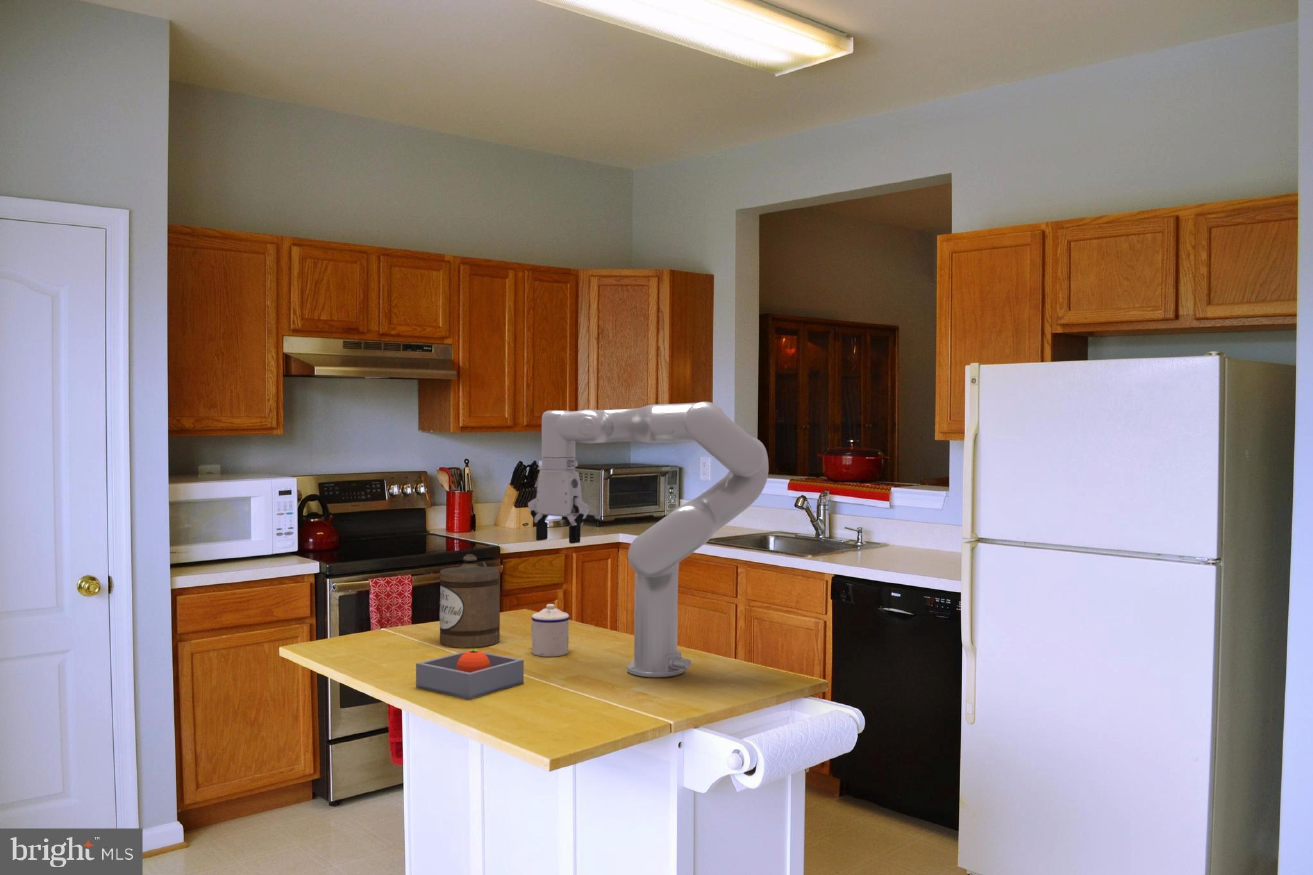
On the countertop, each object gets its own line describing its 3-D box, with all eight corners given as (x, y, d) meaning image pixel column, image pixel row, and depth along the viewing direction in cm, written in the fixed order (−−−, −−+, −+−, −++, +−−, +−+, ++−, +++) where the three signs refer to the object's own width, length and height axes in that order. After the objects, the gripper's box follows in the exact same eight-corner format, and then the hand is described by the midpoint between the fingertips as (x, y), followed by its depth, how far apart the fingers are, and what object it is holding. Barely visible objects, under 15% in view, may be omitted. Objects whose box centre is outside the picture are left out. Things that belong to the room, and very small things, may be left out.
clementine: (460, 678, 211) (460, 644, 211) (493, 678, 212) (493, 644, 211) (453, 688, 203) (453, 653, 203) (487, 688, 204) (488, 653, 203)
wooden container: (433, 638, 254) (434, 552, 254) (490, 634, 260) (491, 549, 260) (447, 650, 240) (447, 559, 240) (506, 645, 247) (507, 556, 246)
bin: (523, 683, 210) (523, 659, 210) (469, 699, 197) (469, 674, 197) (471, 672, 219) (471, 649, 219) (416, 687, 206) (416, 663, 206)
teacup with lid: (577, 653, 238) (577, 604, 238) (545, 659, 232) (545, 609, 232) (547, 645, 247) (548, 598, 247) (516, 650, 241) (517, 602, 241)
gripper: (599, 465, 222) (598, 542, 222) (540, 464, 232) (540, 537, 232) (577, 466, 216) (577, 545, 216) (518, 464, 226) (518, 540, 226)
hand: (558, 541), depth 224 cm, fingers open, 9 cm apart
